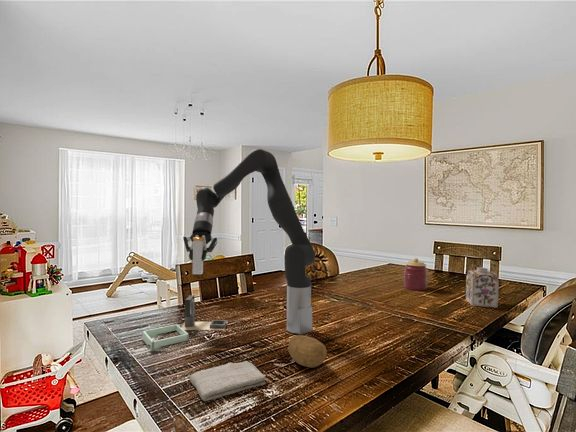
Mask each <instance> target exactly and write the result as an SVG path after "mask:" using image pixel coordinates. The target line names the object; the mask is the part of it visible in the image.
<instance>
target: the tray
mask: <svg viewBox="0 0 576 432" xmlns="http://www.w3.org/2000/svg"><path fill="white" fill-rule="evenodd" d="M174 331H176V332H177V334H179V335H175V336H172V337H167V338H161V339H158V340H154V339H155V338H156V337H158V335H160V334H164V333H170V332H174ZM141 340H142V341H144V343H145V344H146V346H148V345H149V346H148V348H149V349H150V351H151V352H155V351H159V350H164V349H168V348H170V347H169V346H168V345H173V344H178V343H182V342H186V341H189V340H190V334H189V333H188V332H187V330H183V329H182V328H181V326H180V325H179V324H178V323H175V324H171V325H166V326H161V327H156V328H155V327H154V328H152V329H151V328H150V329H146V330H142V339H141Z"/></svg>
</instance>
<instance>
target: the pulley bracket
mask: <svg viewBox="0 0 576 432" xmlns="http://www.w3.org/2000/svg"><path fill="white" fill-rule="evenodd" d="M195 303H196V302H195V295H188V297H186V298H185V300H184V322H183V324H181V326H180V327H181V328H182V329H183V330H184V331H224V330H225V329H226V326H227V324H228V321H227V319H225V320H224V319H217V320H216V319H212V320H211V321H195V317H196V315H195V314H196V310H195V308H196V306H195V305H196V304H195Z"/></svg>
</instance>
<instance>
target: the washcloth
mask: <svg viewBox="0 0 576 432" xmlns="http://www.w3.org/2000/svg"><path fill="white" fill-rule="evenodd" d="M265 380H266V375H265V374H263V373H262V372H261V371H260V370H259V369H258V368H257V367H256V366H255V365H254V364H253V363H252V362H249V361H248V360H244V361H241V362H236V363H235V362H234V363H233V362H227V363H226V364H222V365H219V366H214V367H210V368H207V369H203V370H198V371H195V372H193V373H192V374H190V376H189V381H190V383H191V384H192V386H193V387H194V388H195V389H196V392H197V394H198V395H199V397H200V398H201V400H202V401H203V402H209V401H211V400H215V399H219V398H221V397H226V396H229V395H233V394H235V393H238V392H241V391H246V390H249V389H253V388H252V387H254V388H257V387H260V385H261V386H264V385H266V381H265ZM256 386H257V387H256ZM245 389H246V390H245Z"/></svg>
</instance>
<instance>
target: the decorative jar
mask: <svg viewBox="0 0 576 432" xmlns="http://www.w3.org/2000/svg"><path fill="white" fill-rule="evenodd" d="M465 279H466V280H465V283H466V284H465V300H466V301H467V302H468V303H469V304H470V305H471V306H472V307H480V308H481V307H484V308H497V309H498V306H499V284H500V283H499V282H500V281H499V277H498V274H497V273H495V272H494V271H490V270H488V268H487V267H479V266H477V267H476V269H470V270H468V271H467V273H466V278H465Z"/></svg>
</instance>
